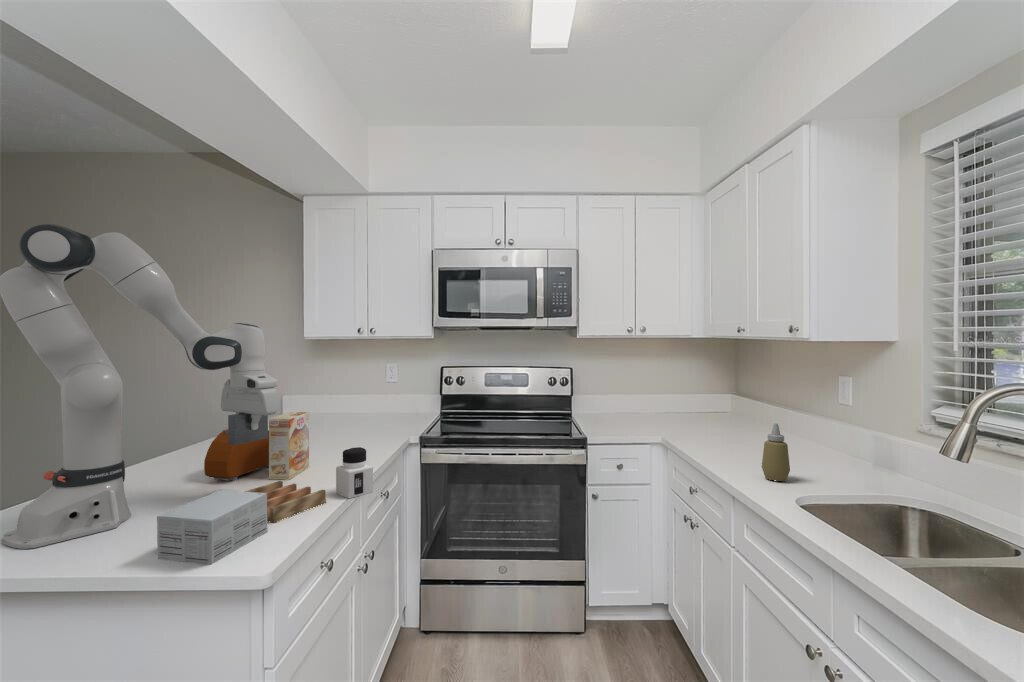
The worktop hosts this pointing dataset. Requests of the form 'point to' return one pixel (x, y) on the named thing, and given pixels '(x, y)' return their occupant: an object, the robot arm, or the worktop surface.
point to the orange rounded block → (235, 457)
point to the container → (354, 474)
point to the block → (245, 429)
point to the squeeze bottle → (775, 456)
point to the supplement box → (211, 526)
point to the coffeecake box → (288, 445)
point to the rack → (288, 499)
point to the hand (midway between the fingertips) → (248, 428)
